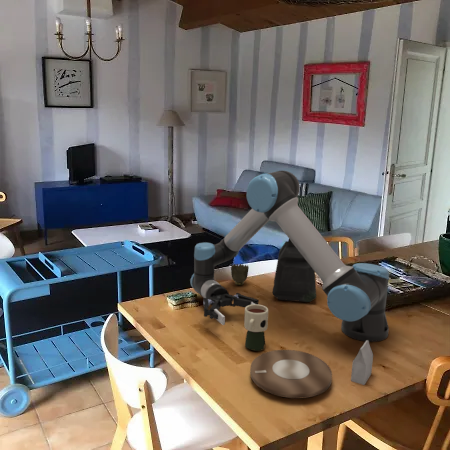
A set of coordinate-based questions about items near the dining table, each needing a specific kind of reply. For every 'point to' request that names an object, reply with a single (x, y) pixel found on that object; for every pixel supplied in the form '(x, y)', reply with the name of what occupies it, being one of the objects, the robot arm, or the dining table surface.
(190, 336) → the dining table surface
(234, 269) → the cup
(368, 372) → the grey gabled block
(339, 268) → the robot arm
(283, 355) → the turntable
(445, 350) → the dining table surface
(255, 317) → the character mug
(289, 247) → the dark grey tapered pedestal
